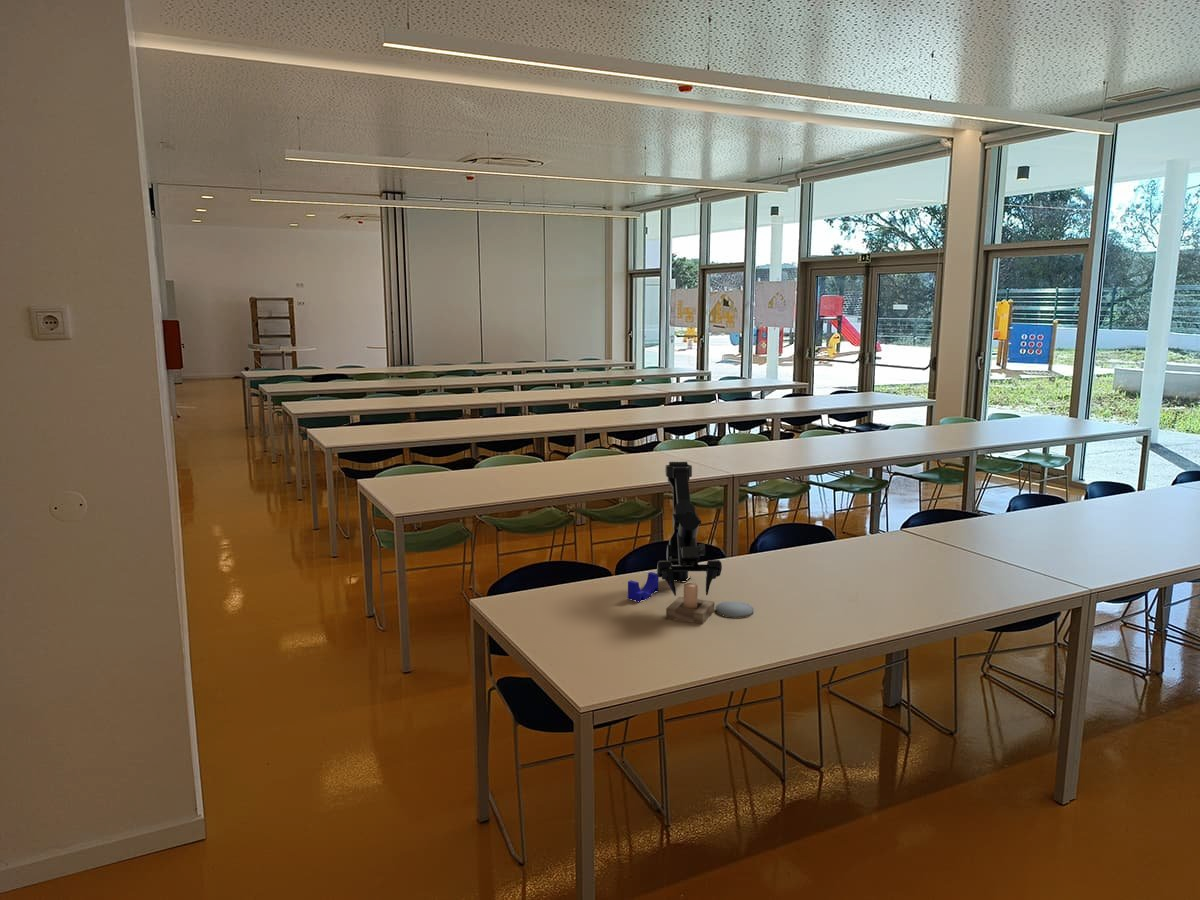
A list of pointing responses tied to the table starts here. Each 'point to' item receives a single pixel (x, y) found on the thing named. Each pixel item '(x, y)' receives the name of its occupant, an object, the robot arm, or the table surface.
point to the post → (690, 595)
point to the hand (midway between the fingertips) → (691, 594)
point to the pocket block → (690, 611)
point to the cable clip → (646, 591)
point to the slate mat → (734, 609)
